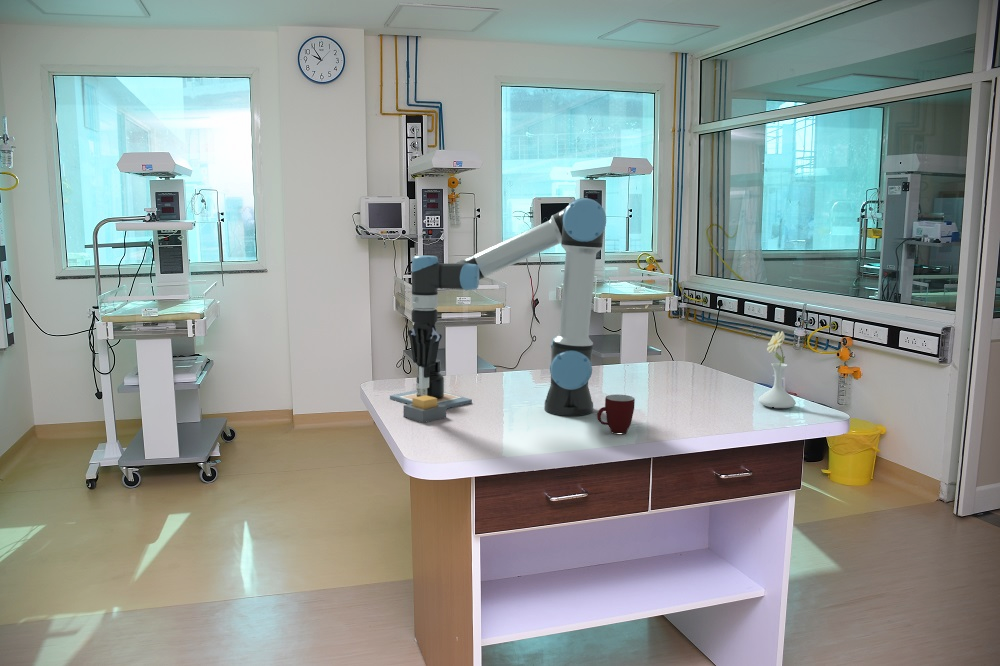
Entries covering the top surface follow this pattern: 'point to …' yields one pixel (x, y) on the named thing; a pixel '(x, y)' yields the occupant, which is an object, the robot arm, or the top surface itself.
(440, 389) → the ink bottle
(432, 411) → the button housing
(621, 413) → the mug
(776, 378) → the flower in vase
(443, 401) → the picture board
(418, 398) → the button
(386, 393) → the top surface
